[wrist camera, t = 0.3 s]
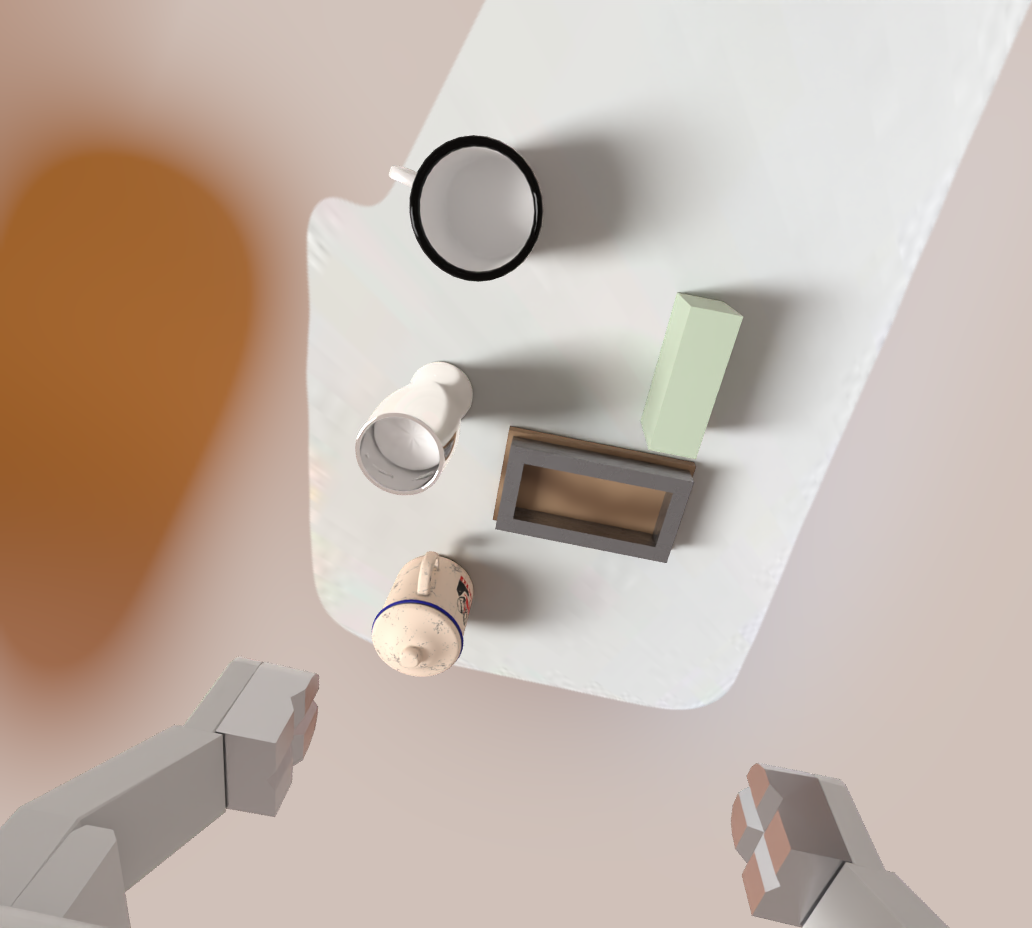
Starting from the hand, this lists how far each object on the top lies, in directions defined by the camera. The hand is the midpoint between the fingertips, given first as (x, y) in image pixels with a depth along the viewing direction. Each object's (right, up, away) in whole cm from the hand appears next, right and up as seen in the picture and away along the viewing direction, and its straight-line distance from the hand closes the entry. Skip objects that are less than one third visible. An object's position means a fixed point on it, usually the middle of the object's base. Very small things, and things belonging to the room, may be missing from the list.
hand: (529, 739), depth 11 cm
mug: (-3, +27, +39) cm, 47 cm away
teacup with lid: (-9, -7, +55) cm, 56 cm away
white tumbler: (-7, +12, +46) cm, 48 cm away
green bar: (+15, +14, +43) cm, 47 cm away
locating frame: (+7, +3, +49) cm, 49 cm away
